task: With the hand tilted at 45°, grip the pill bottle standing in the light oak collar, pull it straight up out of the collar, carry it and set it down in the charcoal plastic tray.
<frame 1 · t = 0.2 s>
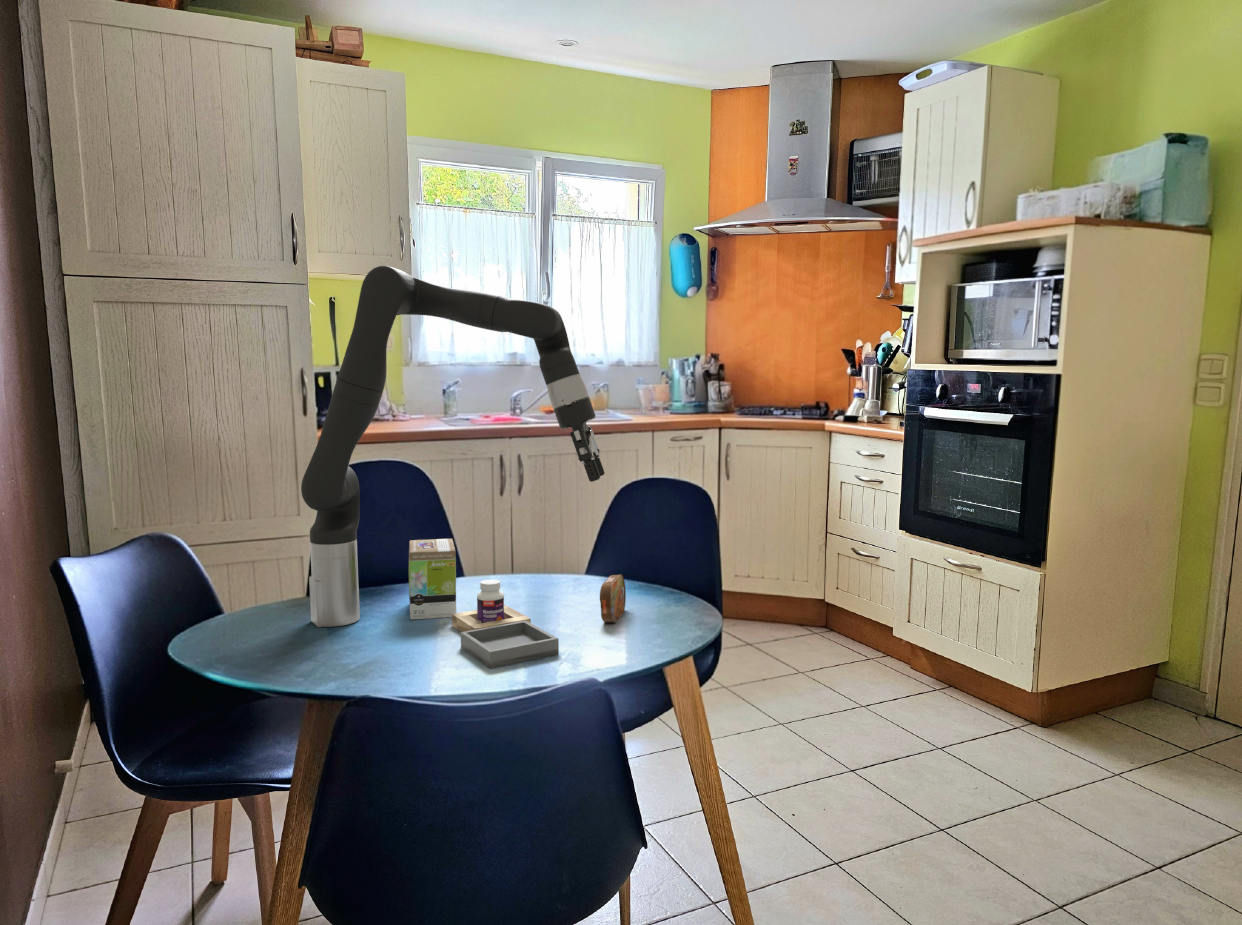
hand: (597, 478, 164), 31 cm above the table, tool tilted 20°, fingers open, 8 cm apart
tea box: (433, 610, 182), on the table
oak collar: (491, 628, 167), on the table
tin: (613, 618, 175), on the table
charcoal tray: (509, 650, 153), on the table
pill bottle: (491, 629, 168), resting in oak collar
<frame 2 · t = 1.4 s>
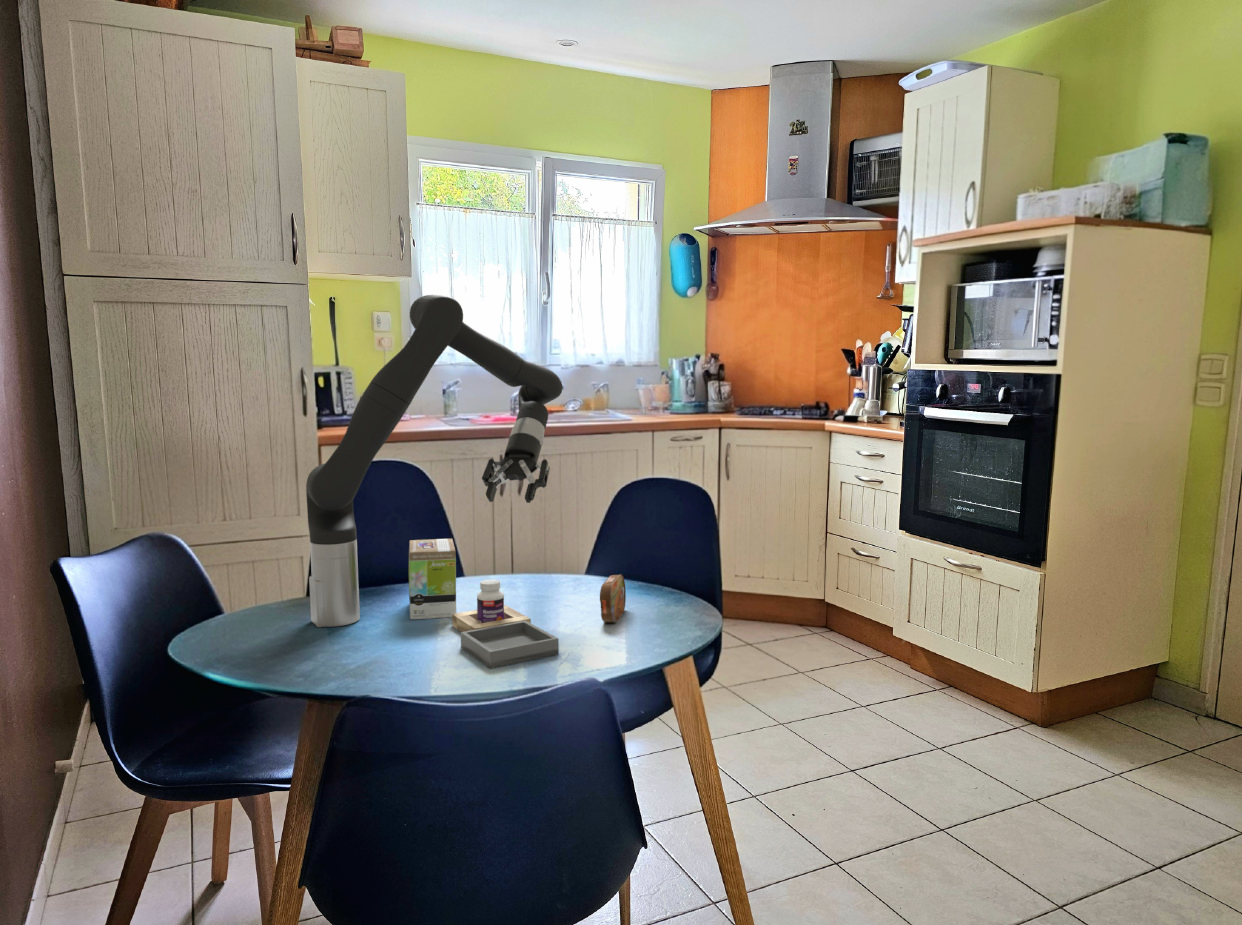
hand: (508, 500, 176), 25 cm above the table, tool tilted 45°, fingers open, 8 cm apart
nothing on the table moved.
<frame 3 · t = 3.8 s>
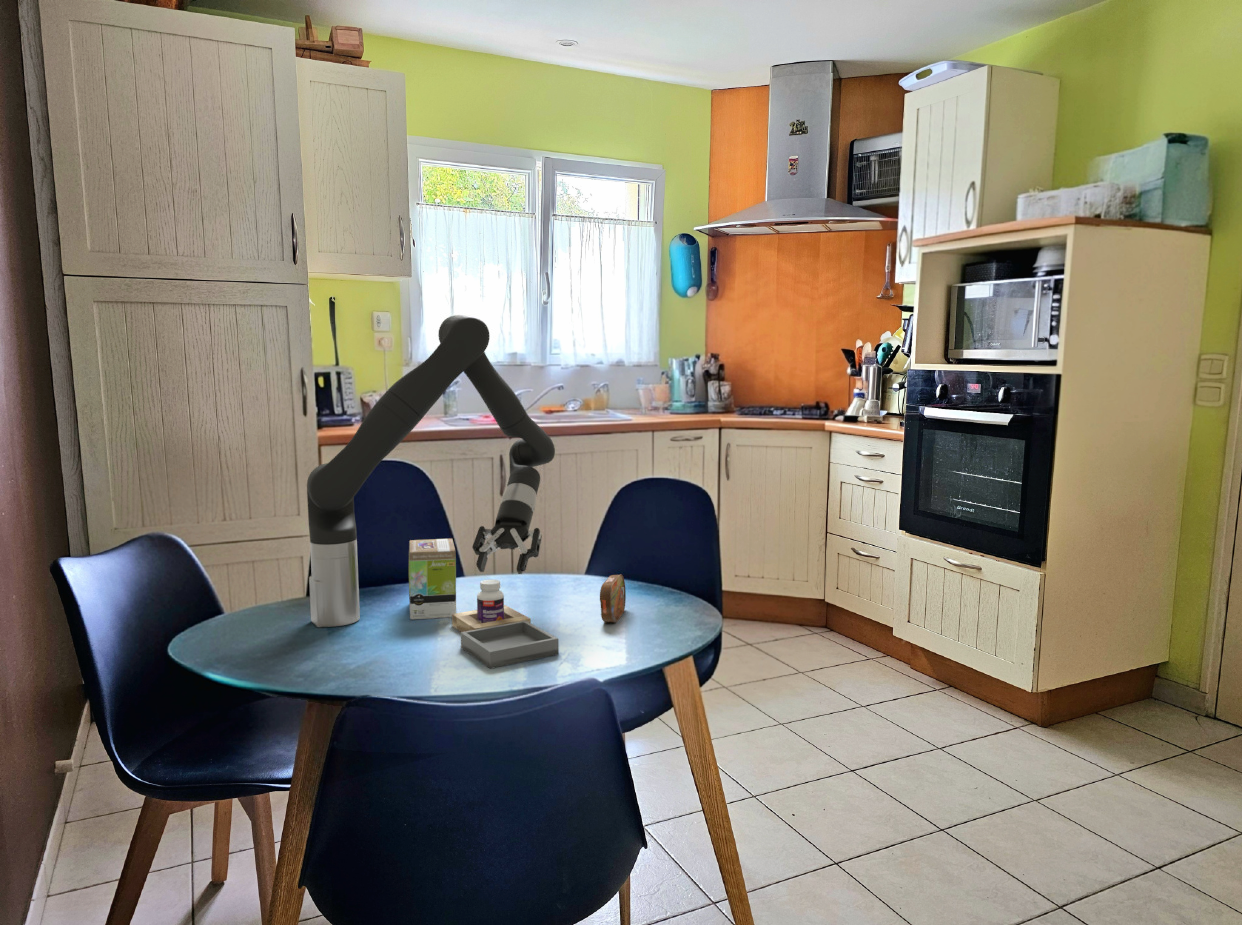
hand: (499, 571, 172), 11 cm above the table, tool tilted 45°, fingers open, 8 cm apart
nothing on the table moved.
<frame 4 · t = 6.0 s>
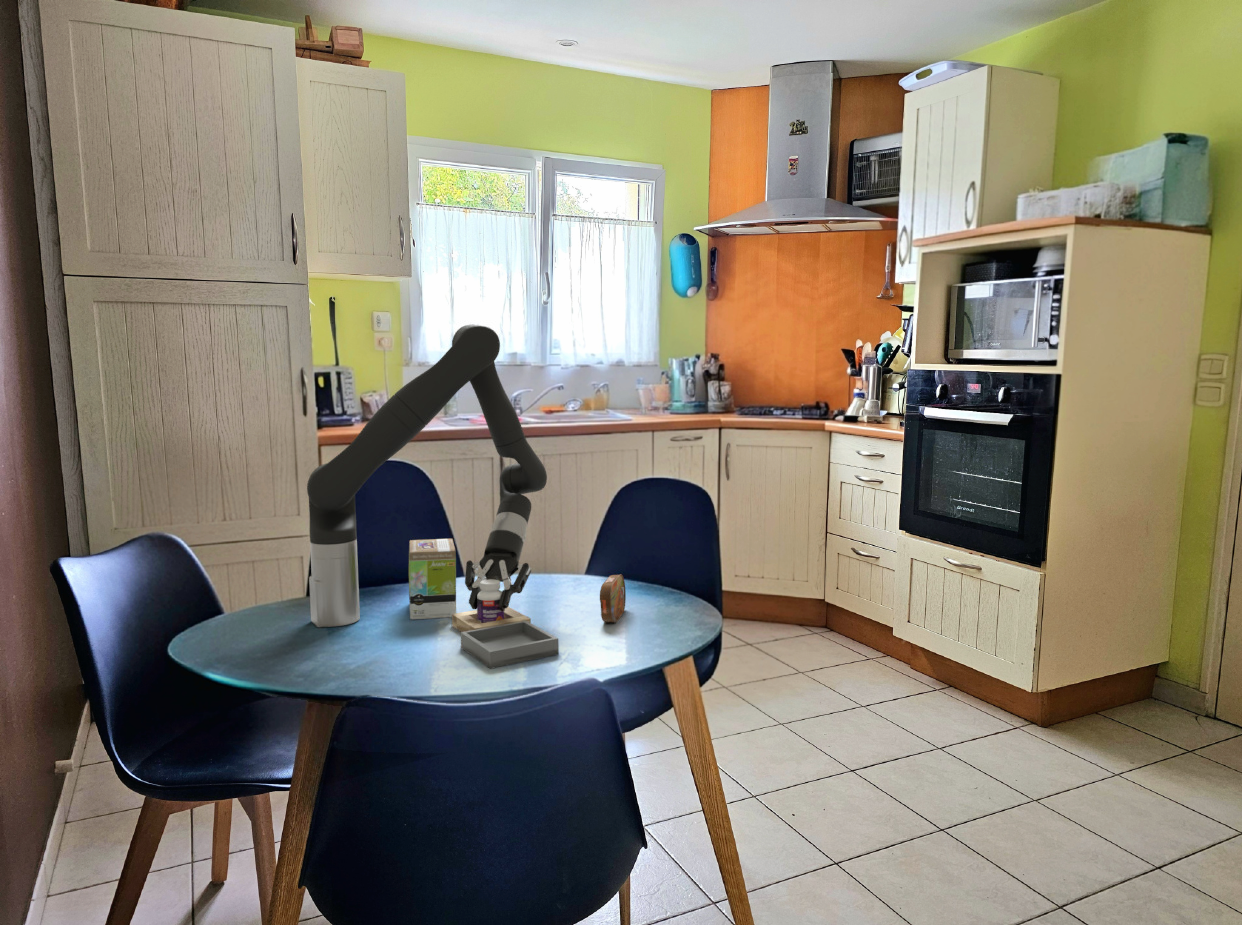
hand: (487, 607, 165), 5 cm above the table, tool tilted 45°, fingers closed on pill bottle, 5 cm apart
pill bottle: (491, 629, 168), resting in oak collar, touching gripper
everything else where it was.
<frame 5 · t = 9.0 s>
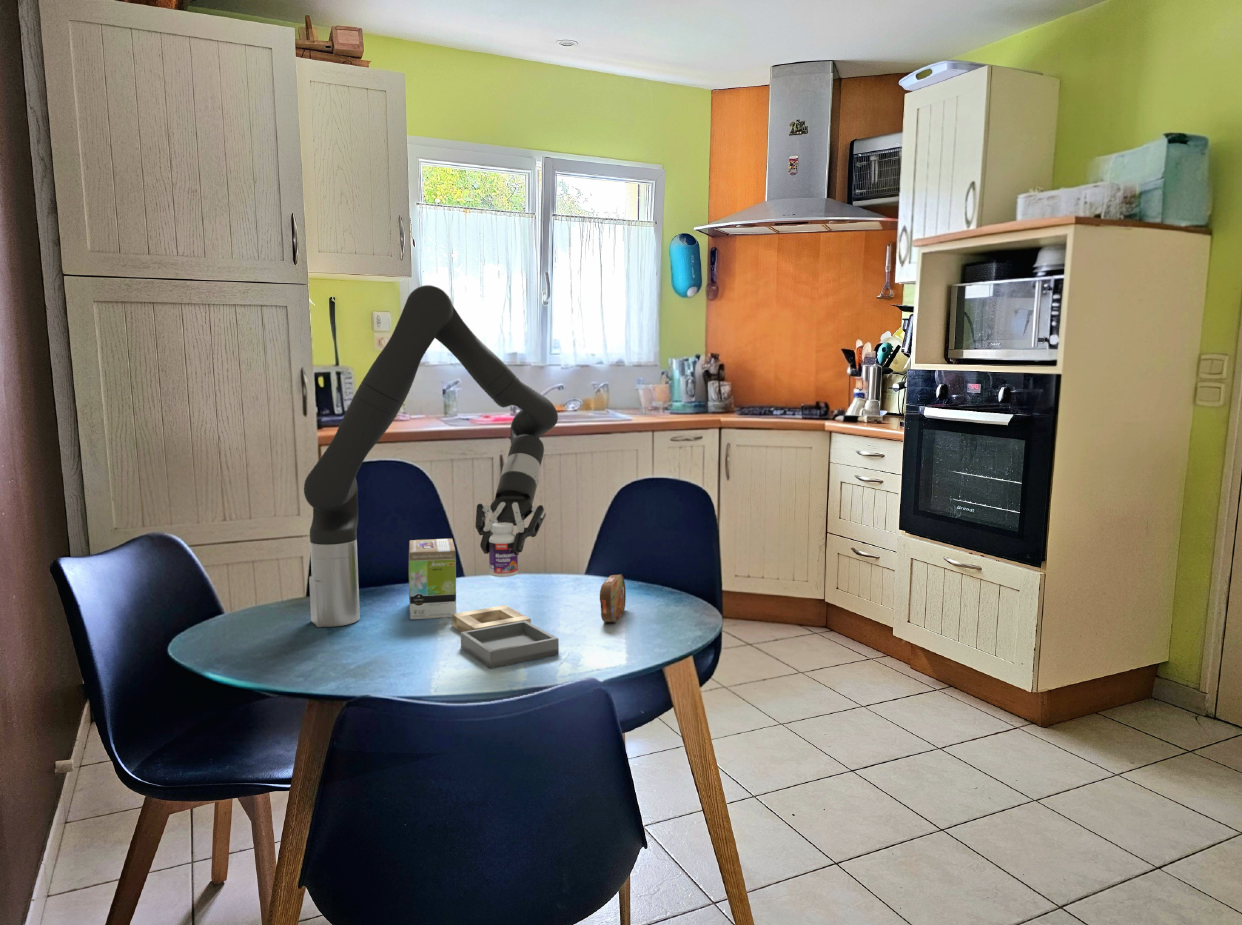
hand: (500, 551, 155), 18 cm above the table, tool tilted 45°, fingers closed on pill bottle, 5 cm apart
pill bottle: (503, 575, 157), point 13 cm above the table, touching gripper
everything else where it was.
when the fingers open (7 cm above the table, at t = 12.0 s): pill bottle drops 1 cm, resting on charcoal tray.
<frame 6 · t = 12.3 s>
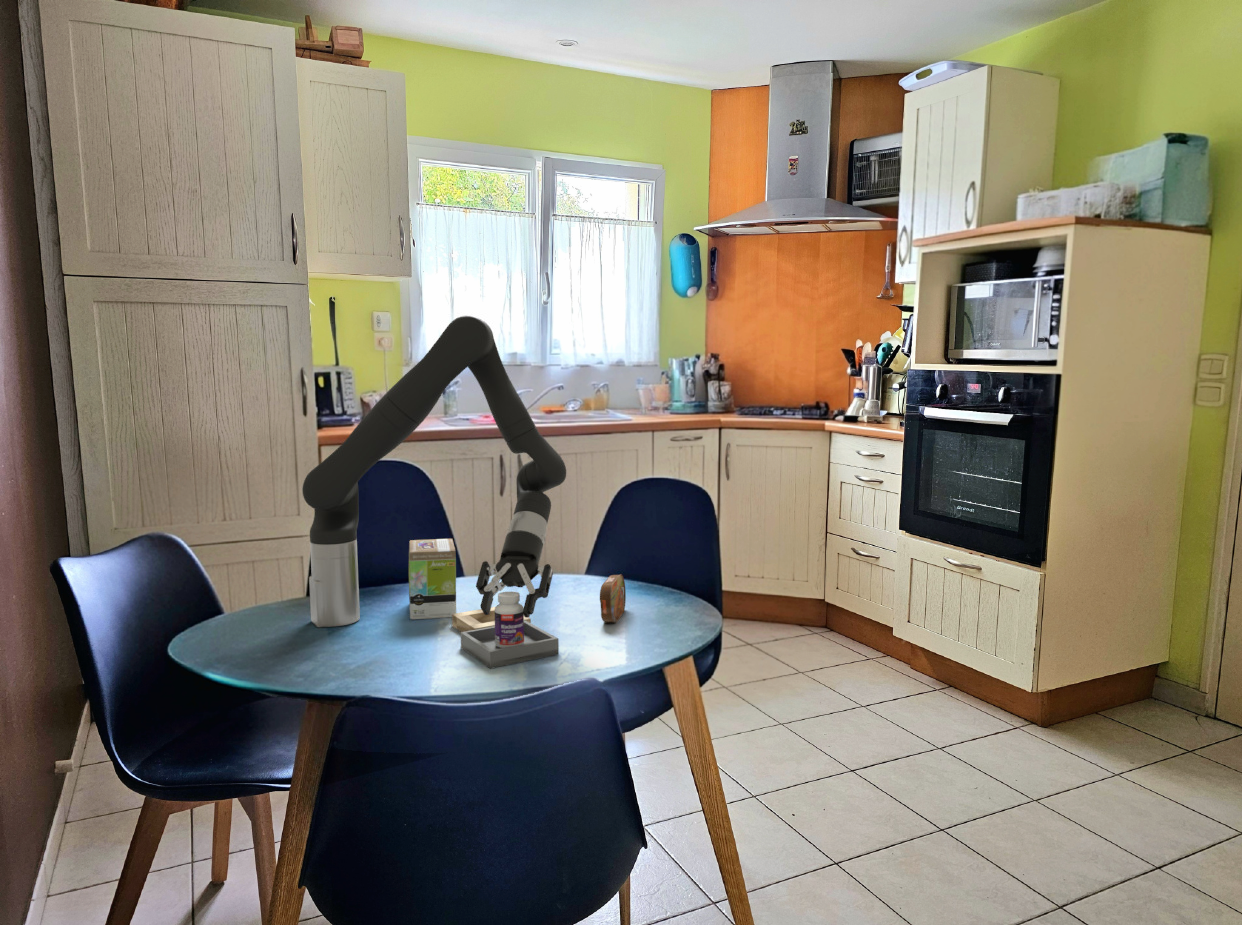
hand: (505, 613, 151), 8 cm above the table, tool tilted 45°, fingers open, 7 cm apart
pill bottle: (509, 645, 153), point 1 cm above the table, touching charcoal tray
everything else where it was.
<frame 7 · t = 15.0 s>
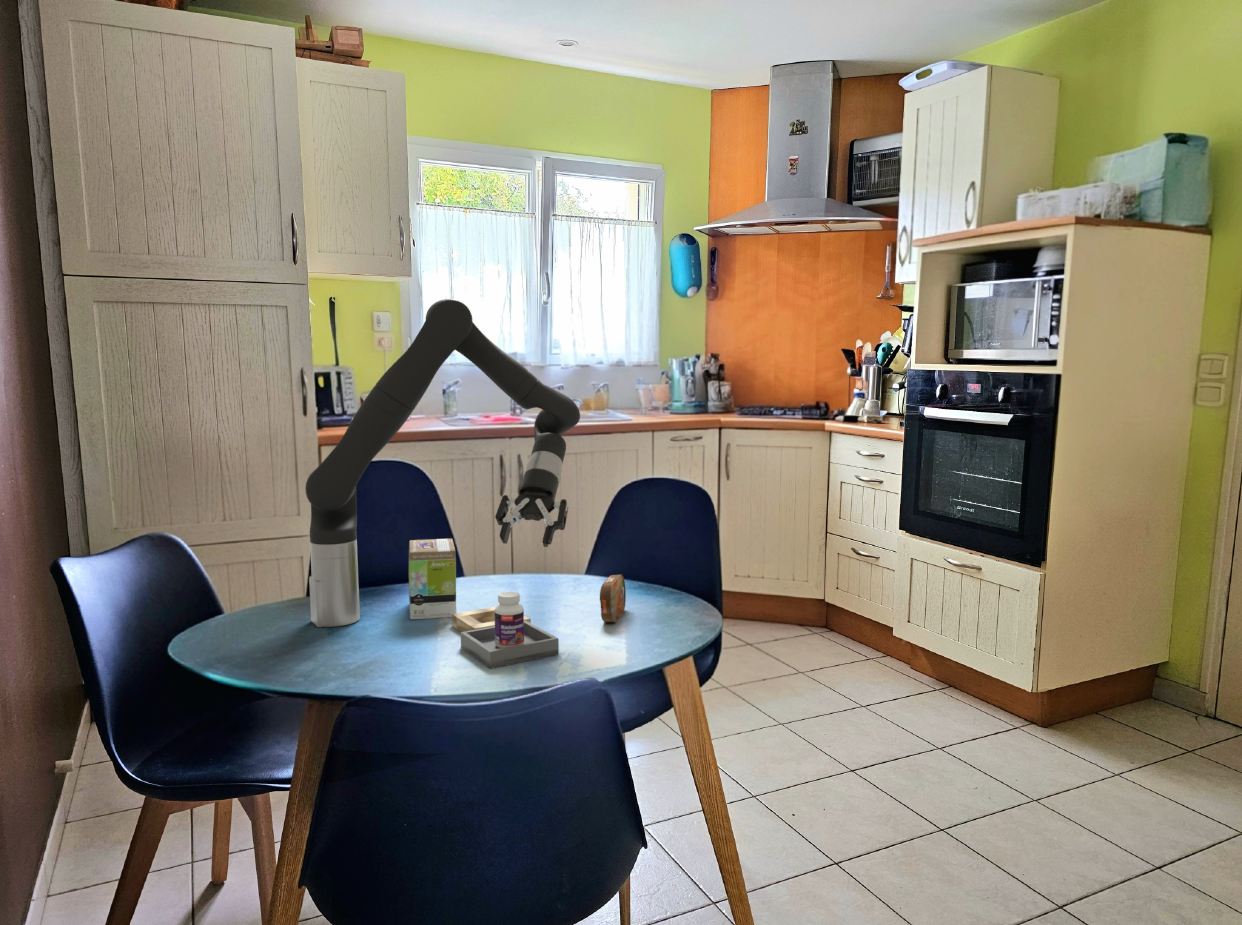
hand: (524, 543, 164), 18 cm above the table, tool tilted 45°, fingers open, 8 cm apart
nothing on the table moved.
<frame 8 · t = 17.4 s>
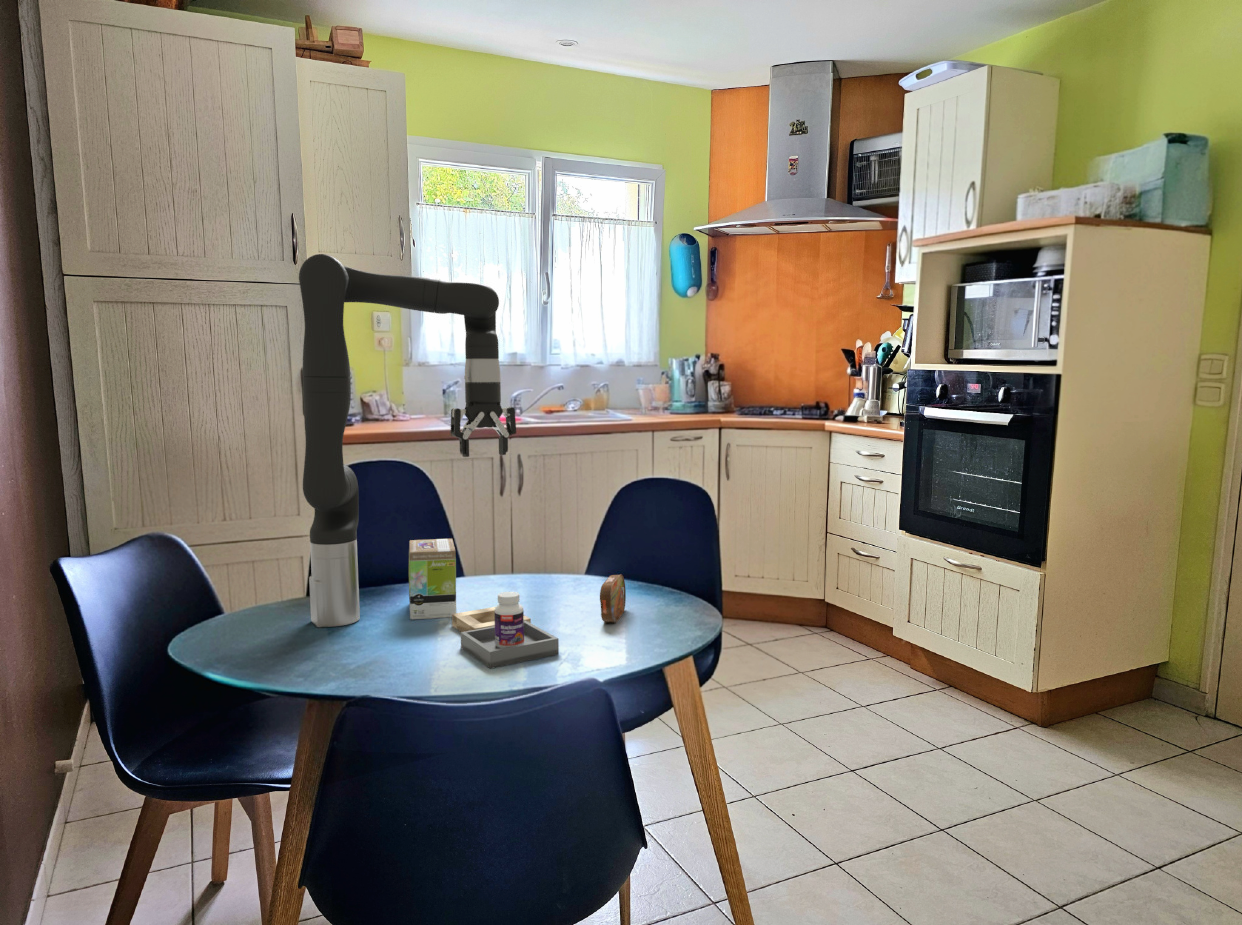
hand: (484, 455, 178), 34 cm above the table, tool pointing down, fingers open, 8 cm apart
nothing on the table moved.
at the end: pill bottle inside the target area on the charcoal tray (0.2 cm from its centre), point 0.8 cm above the charcoal tray's base; the gripper is holding nothing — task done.
